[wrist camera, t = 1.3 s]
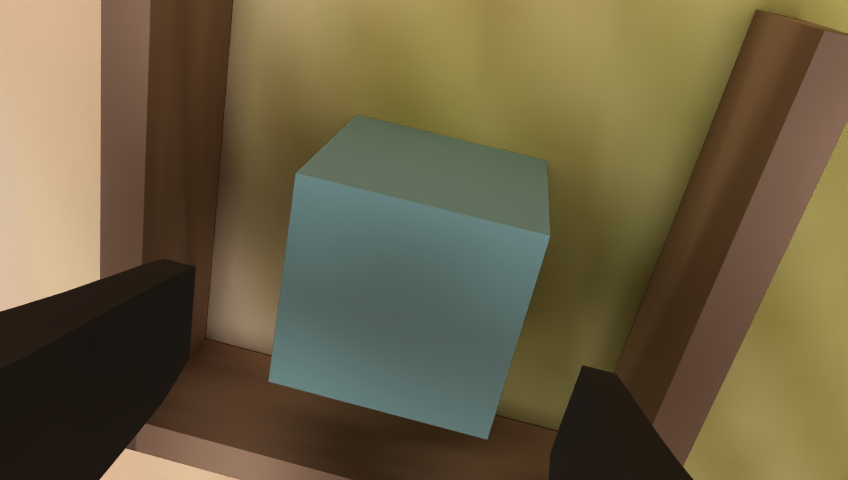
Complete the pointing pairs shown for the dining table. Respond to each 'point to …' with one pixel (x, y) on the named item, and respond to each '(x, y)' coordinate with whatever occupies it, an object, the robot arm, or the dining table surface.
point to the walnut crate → (508, 439)
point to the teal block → (410, 273)
